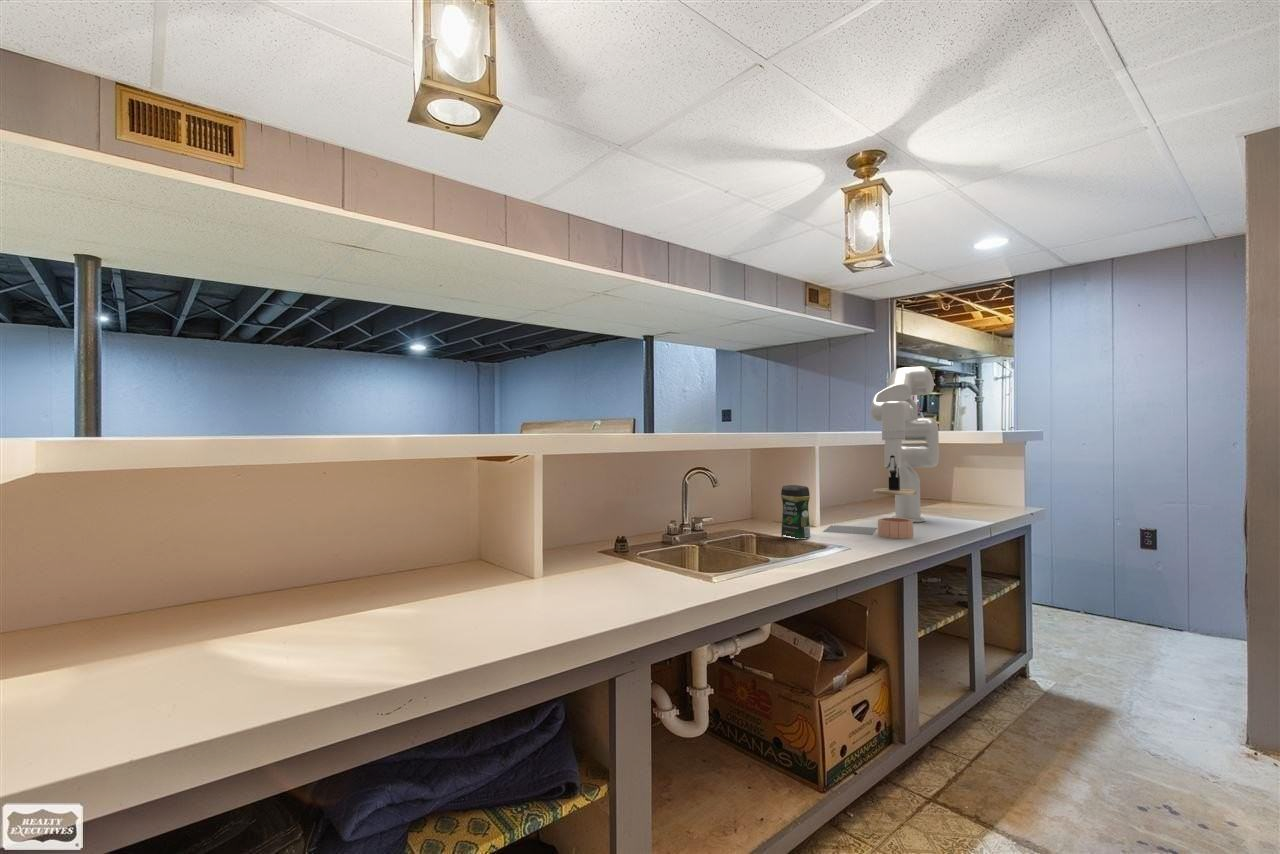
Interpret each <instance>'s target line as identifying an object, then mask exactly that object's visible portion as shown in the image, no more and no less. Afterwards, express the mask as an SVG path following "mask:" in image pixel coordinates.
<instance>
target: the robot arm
mask: <svg viewBox="0 0 1280 854" xmlns="http://www.w3.org/2000/svg"><path fill="white" fill-rule="evenodd" d="M934 386H935V382H934V378H933V374H932V372H931V370H930V369H929V367H927V366H923V365H922V366H921V365H920V366H908V367H907V366H905V367H899V368H898V367H897V368H895V369H894V370H892V372H891V373H890V377H889V378H888V379H887V382H886V388H884V389H883V388H882V390H881V391H879V392H877V393H875V395H874V396H873V398H872V400H871V405H870V413H869V415H870V418H871V420H872V421H874V423H881V440H882V441H884V456H883V457H884V458H883V459H884V461H883V463H884V468H885V469H888V488H889V489H899V478H898V476H900V488H901V489H913V490H916V494H913V495H894V501H895V502H894V506H895V507H894V508H895V509H894V510H895V513H894V514H895V515H892V516H891V517H890V518H905V519H910V520H913V523H923V522H926V519H925V517H922V516H921V479H920V476H919V474H918V473H917V471H915V470H914V468H934V467H935V468H936V466H937V465H938V464H939V462H940V461H939V459H940V447H939V445H940V443H939V439H940V438H939V437H940V436H939V426H938V425H939V424H938V422H937V420H936V419H935V418H932V417H919V414H918V411H919V407H918V405H917V403H916V402H915V401H914V400H913V398H911V397H912V396H927V395H930V394H932V392H933V391H934ZM903 441H905V442H906V441H909V442H910V441H911V442H912V441H913V442H915V441H916V442H920V441H921V442H925V443H903Z"/></svg>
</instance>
